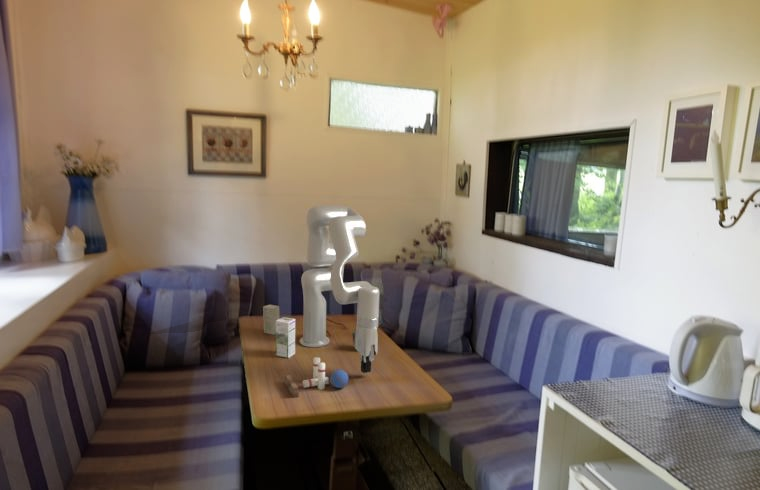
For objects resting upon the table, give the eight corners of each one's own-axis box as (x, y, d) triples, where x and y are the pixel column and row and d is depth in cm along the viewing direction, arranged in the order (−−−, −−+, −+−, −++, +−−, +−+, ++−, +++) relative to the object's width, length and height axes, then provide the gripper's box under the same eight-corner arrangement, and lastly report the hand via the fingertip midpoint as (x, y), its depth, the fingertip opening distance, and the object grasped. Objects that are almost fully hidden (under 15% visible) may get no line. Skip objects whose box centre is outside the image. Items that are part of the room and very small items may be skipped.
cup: (367, 353, 192) (368, 334, 191) (349, 352, 193) (350, 332, 192) (371, 347, 199) (372, 329, 198) (354, 345, 201) (354, 327, 200)
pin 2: (316, 387, 160) (316, 362, 159) (323, 386, 161) (323, 361, 160) (318, 390, 158) (319, 365, 157) (326, 389, 159) (326, 364, 158)
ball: (329, 369, 158) (344, 363, 162) (325, 379, 162) (339, 373, 165) (339, 384, 155) (354, 378, 159) (334, 394, 159) (348, 387, 163)
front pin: (326, 381, 164) (302, 385, 161) (326, 375, 164) (302, 378, 160) (328, 385, 162) (304, 389, 158) (329, 379, 161) (304, 382, 158)
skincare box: (280, 332, 215) (280, 306, 213) (273, 335, 211) (273, 308, 209) (270, 330, 218) (270, 304, 216) (262, 332, 214) (262, 306, 212)
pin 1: (312, 381, 165) (312, 357, 164) (318, 380, 166) (319, 356, 165) (314, 384, 162) (314, 360, 161) (321, 383, 163) (321, 359, 162)
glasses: (325, 325, 229) (325, 315, 229) (347, 330, 223) (348, 319, 222) (308, 332, 218) (308, 321, 217) (331, 337, 212) (331, 326, 211)
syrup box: (295, 353, 190) (296, 318, 188) (288, 358, 184) (288, 322, 182) (283, 351, 192) (283, 316, 190) (275, 356, 186) (275, 320, 184)
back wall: (284, 382, 163) (284, 374, 162) (288, 382, 163) (288, 373, 163) (293, 397, 152) (294, 388, 152) (298, 396, 153) (298, 387, 152)
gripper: (349, 316, 172) (348, 365, 174) (366, 329, 158) (364, 381, 161) (368, 314, 175) (366, 362, 178) (386, 327, 162) (384, 378, 164)
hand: (365, 371), depth 169 cm, fingers closed
